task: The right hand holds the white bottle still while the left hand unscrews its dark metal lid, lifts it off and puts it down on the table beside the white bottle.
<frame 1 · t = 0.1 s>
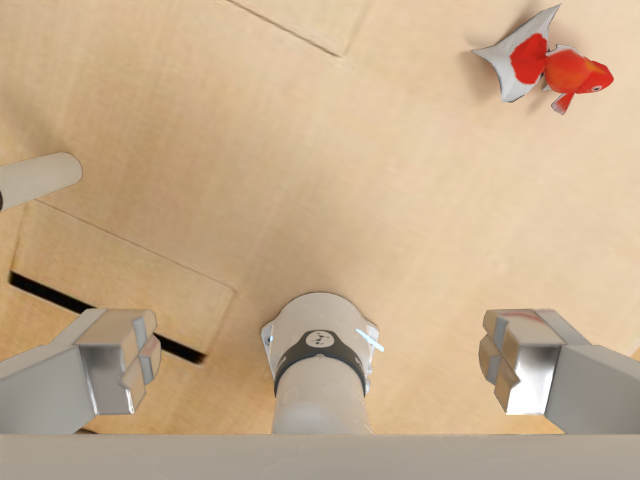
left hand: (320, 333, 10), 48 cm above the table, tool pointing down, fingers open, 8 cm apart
white bottle: (65, 168, 57), on the table
fish: (522, 69, 52), on the table
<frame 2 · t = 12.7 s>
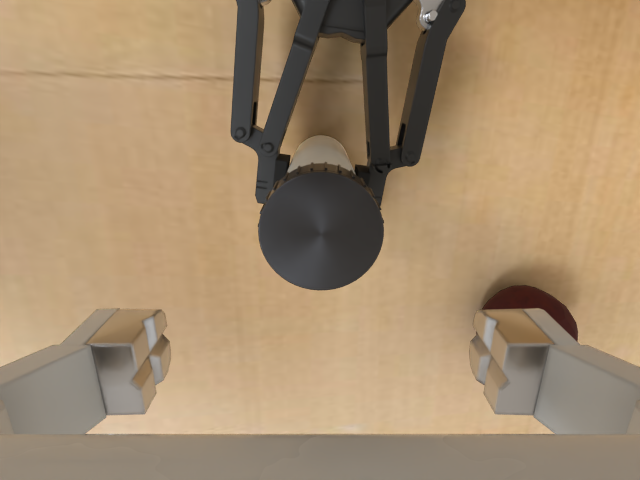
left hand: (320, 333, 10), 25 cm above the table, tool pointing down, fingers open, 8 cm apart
right hand: (310, 252, 29), fingers closed on white bottle, 5 cm apart
white bottle: (320, 163, 34), on the table, touching right hand
lid: (321, 231, 17), point 17 cm above the table, screwed on, not yet turned
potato: (505, 308, 38), on the table
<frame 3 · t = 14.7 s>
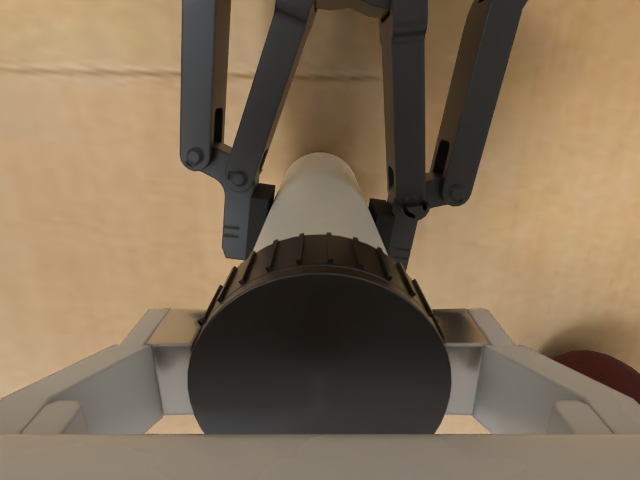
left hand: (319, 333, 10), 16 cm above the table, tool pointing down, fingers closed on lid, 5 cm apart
right hand: (305, 323, 20), fingers closed on white bottle, 5 cm apart
white bottle: (319, 190, 25), on the table, touching right hand
lid: (319, 381, 8), point 17 cm above the table, screwed on, not yet turned, touching left hand
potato: (560, 374, 29), on the table
when the left hand's fingers open (16 cm above the table, at t = 15.8 s): lid stays where it is, point 18 cm above the table.
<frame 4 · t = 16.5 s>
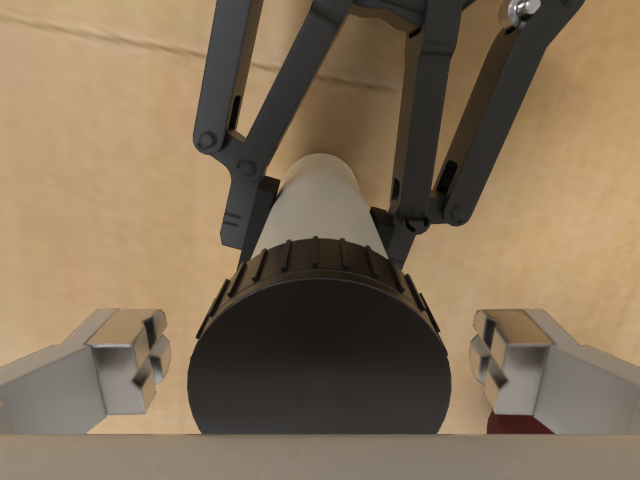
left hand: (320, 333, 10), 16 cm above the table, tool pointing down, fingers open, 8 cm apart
right hand: (290, 320, 20), fingers closed on white bottle, 5 cm apart
white bottle: (319, 190, 25), on the table, touching right hand
lid: (319, 385, 8), point 18 cm above the table, turned 66° so far, risen 0.2 cm, still on its thread
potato: (523, 400, 30), on the table
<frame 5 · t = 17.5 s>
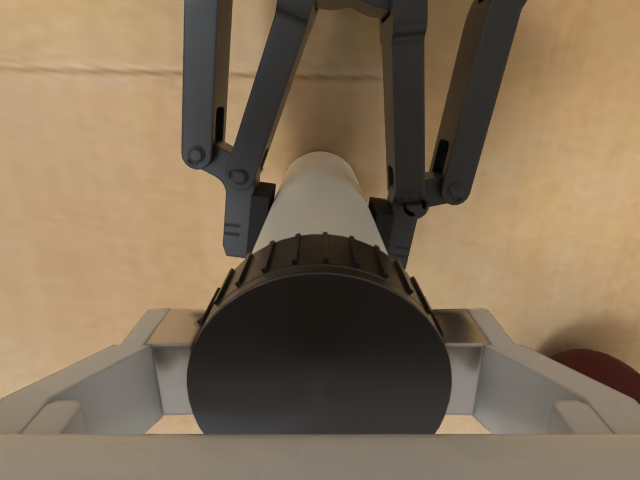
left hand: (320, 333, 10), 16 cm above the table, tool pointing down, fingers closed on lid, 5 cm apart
right hand: (305, 321, 21), fingers closed on white bottle, 5 cm apart
white bottle: (320, 189, 25), on the table, touching right hand
lid: (319, 381, 8), point 18 cm above the table, turned 66° so far, risen 0.2 cm, still on its thread, touching left hand
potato: (558, 373, 30), on the table
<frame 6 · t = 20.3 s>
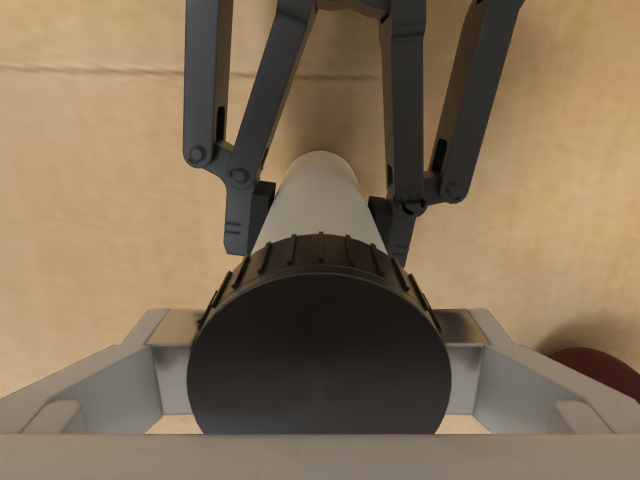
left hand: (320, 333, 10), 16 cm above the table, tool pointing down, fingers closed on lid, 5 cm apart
right hand: (304, 319, 21), fingers closed on white bottle, 5 cm apart
white bottle: (319, 188, 25), on the table, touching right hand
lid: (319, 381, 8), point 18 cm above the table, turned 132° so far, risen 0.4 cm, still on its thread, touching left hand
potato: (556, 371, 30), on the table
when the left hand's fingers open (2 cm above the table, at t = 27.2 s): lid drops 2 cm, point 2 cm above the table.
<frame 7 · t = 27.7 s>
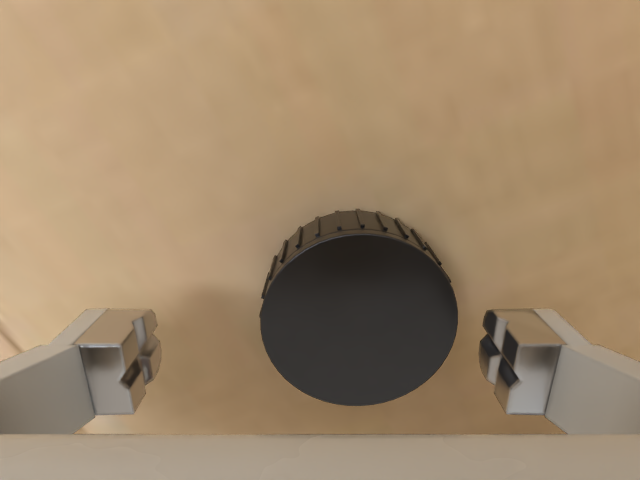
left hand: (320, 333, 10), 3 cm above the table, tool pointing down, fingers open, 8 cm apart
lid: (357, 320, 11), point 2 cm above the table, off its thread
when the right hand's fingers open (7 cm above the table, at t = 28.0 s): white bottle stays where it is, on the table.
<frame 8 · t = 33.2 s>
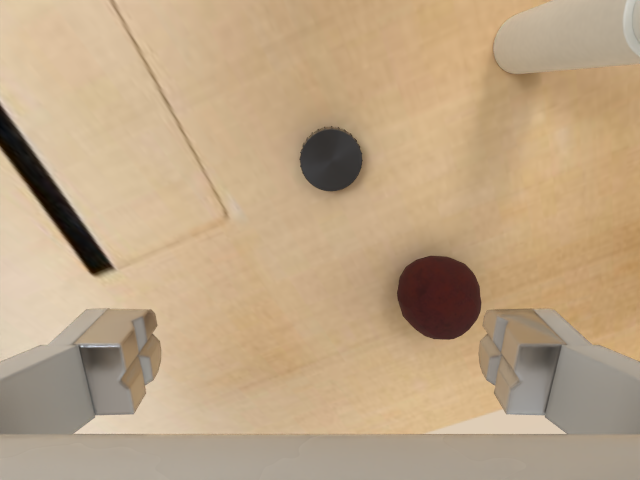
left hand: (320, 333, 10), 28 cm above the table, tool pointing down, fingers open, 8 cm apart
white bottle: (521, 44, 34), on the table
lid: (331, 160, 35), point 2 cm above the table, off its thread
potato: (428, 278, 41), on the table
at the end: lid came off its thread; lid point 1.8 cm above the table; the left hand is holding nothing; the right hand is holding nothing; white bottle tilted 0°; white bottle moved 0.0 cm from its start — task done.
